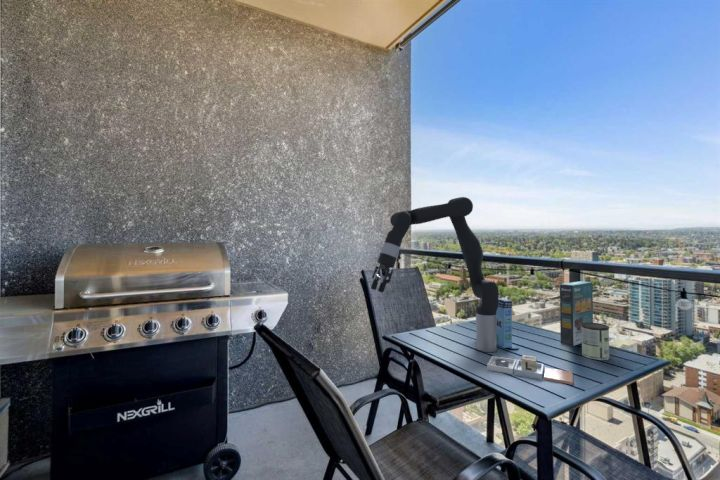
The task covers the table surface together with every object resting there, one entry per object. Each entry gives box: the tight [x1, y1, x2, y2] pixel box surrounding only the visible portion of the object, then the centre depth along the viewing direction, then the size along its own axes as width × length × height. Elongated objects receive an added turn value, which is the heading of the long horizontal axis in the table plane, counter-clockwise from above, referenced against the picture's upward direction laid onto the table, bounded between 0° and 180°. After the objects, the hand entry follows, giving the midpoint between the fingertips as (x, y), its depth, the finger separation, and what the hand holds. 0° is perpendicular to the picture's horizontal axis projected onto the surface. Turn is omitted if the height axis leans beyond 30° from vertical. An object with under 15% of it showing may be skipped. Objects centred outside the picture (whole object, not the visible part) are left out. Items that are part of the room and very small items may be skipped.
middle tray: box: [513, 359, 545, 381], centre depth 133 cm, size 12×10×2 cm
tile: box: [543, 367, 574, 386], centre depth 128 cm, size 11×9×1 cm
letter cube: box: [520, 354, 538, 372], centre depth 133 cm, size 5×5×5 cm
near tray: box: [486, 355, 518, 375], centre depth 138 cm, size 12×10×2 cm
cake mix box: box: [559, 280, 594, 347], centre depth 174 cm, size 22×6×30 cm, turn 123°
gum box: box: [480, 297, 513, 349], centre depth 173 cm, size 20×5×23 cm, turn 13°
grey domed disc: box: [496, 359, 509, 367], centre depth 138 cm, size 5×5×2 cm
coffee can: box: [581, 322, 610, 361], centre depth 150 cm, size 10×10×14 cm
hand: (376, 290), depth 143 cm, fingers open, 8 cm apart
